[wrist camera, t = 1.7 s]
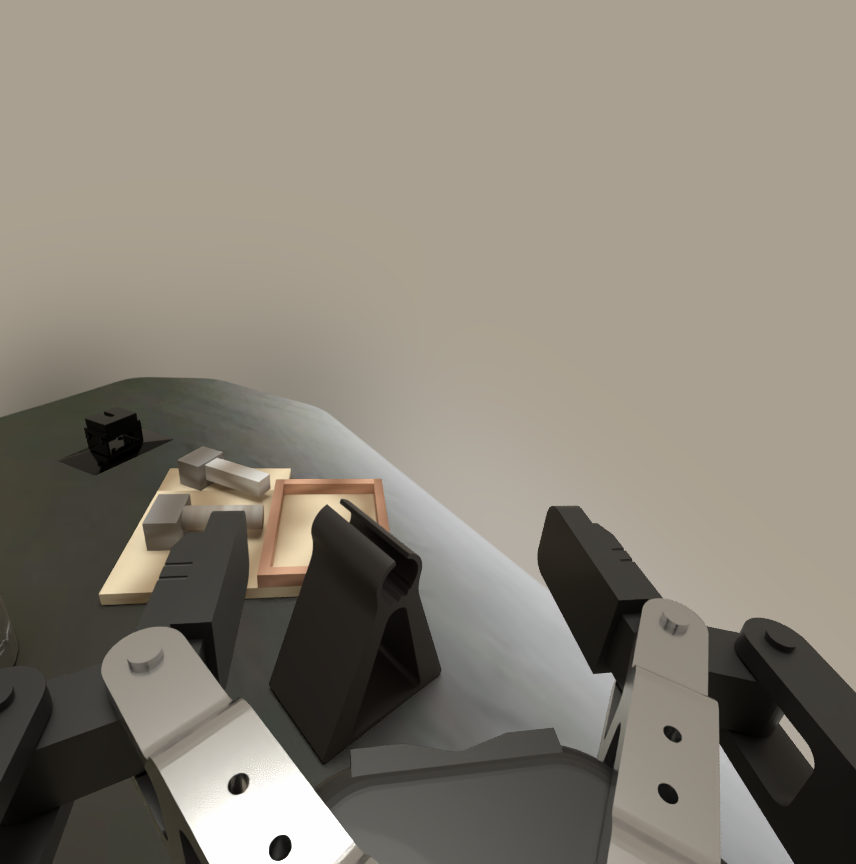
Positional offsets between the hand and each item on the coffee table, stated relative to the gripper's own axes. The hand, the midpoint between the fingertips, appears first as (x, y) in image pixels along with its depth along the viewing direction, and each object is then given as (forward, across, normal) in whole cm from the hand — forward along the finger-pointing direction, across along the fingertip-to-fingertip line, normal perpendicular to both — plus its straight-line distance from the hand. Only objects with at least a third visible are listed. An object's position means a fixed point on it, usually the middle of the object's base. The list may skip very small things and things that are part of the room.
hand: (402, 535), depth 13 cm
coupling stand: (+27, +7, +20) cm, 34 cm away
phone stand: (+11, 0, +20) cm, 23 cm away
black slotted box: (+41, +24, +21) cm, 52 cm away
